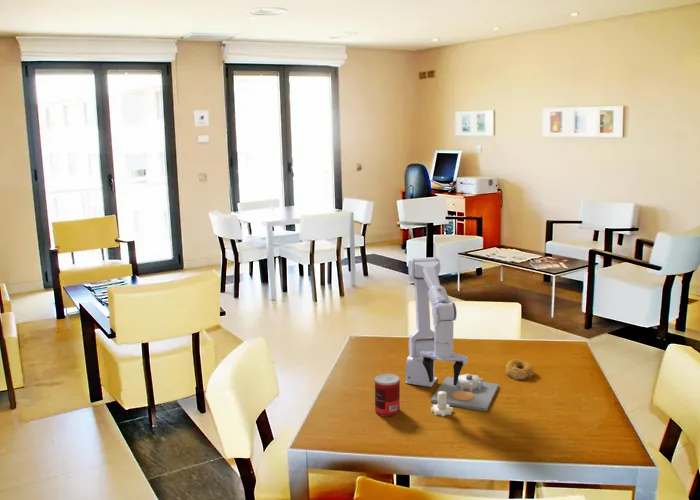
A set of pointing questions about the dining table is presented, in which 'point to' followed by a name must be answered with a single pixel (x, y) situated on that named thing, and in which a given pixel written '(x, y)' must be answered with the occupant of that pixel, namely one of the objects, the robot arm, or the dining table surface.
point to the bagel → (519, 369)
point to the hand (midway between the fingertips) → (443, 382)
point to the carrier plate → (467, 392)
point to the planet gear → (442, 405)
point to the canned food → (387, 394)
